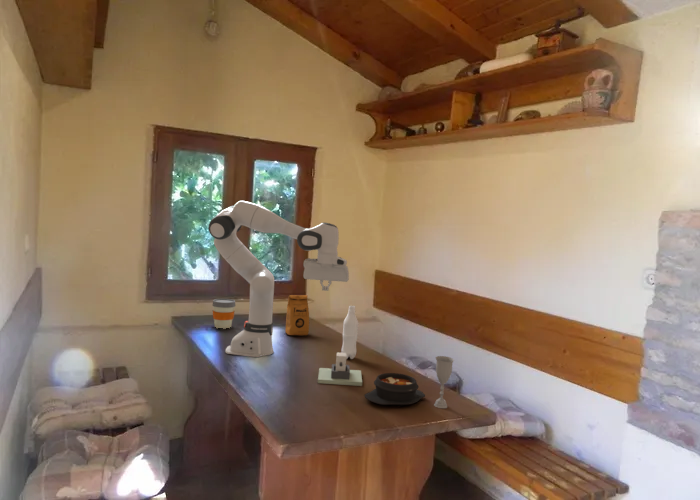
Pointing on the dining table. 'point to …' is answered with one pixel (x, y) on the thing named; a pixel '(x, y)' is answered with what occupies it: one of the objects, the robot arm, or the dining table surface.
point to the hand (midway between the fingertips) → (325, 290)
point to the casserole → (395, 390)
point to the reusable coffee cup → (223, 312)
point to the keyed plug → (341, 361)
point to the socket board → (340, 376)
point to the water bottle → (350, 333)
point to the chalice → (443, 377)
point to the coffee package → (297, 315)
